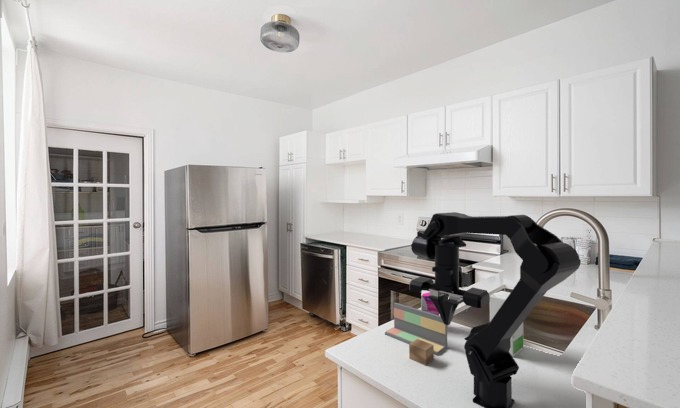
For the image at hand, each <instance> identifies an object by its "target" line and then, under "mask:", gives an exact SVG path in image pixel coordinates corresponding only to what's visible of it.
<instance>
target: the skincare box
mask: <svg viewBox="0 0 680 408" xmlns="http://www.w3.org/2000/svg"><path fill="white" fill-rule="evenodd" d="M510 293H511V292H509V291H505V290H500V291H498V292H494V293H493V294H489V295H490V302H489V322H491V320H492V319H493V317H494V316H495V314H496V313H497V311H498V310H499V309H500V307H501V306H502V304H503V303H504V301H505V300H506V299H507V297H508V296H509V294H510ZM510 341H511V348H510V350H509V352H510V354H511V355H512V357H513V358H514V357H515V356H516V355H517V354H518V353H520V352H521V351H522V350H523V349H524V348H525V347H524V345H525V344H524V322H523V323H522V324H521V325H520V326H519V328H518V329H517V330H516V332H515V333H514V334H513V335H512V337H511V339H510Z"/></svg>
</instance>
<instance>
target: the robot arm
mask: <svg viewBox="0 0 680 408" xmlns="http://www.w3.org/2000/svg"><path fill="white" fill-rule="evenodd" d="M431 216H432V217H431V218H430V221H429V223H428V225H427V226H426V229H425V230H424V231H418V232H416V236H415V237H414V239H412V242H411V244H410V245H411V246H410V247H411V251H412V253H413V254H414V255H416V256H418V257H421V258H425V259H429V260H434V266H432V267H431V272H434V281H433V279H432V278H430V277H425V276H419V277H416V278H413V279H411V280H410V282H409V291H410V292H413V293H417V294H419V293H421V291H422V290H425V291H430V296H428V298H429V299H431V300H432V302H433V303H434V305H435V307H436V309H437V310H438V312H439V316H441V319H442V321H443V323H444V324H445V325H446V324H447V326H450V325H451V323H452V320H453V318H454V315H455V312H456V310H457V308H458V306H459V305H460V304H462V303H463V304H464V305H465V306H468V307H471V308H476V309H481V308H483V307H485V306H486V305H488V304H490V295H491V294H490V293H489V291H488V290H487V289H480V288H477V287H473V286H472V287H471V288H469V289H467V290H465V289H460V288H464V287H467V288H468V287H469V283H470V274H468V273H465V272H463V271H462V270H463V268H462V266H461V265H460V248H463V247H464V248H465V247H467V243H466V242H465V241H464V240H462V238H461V237H460V236H458V235H464V234H477V235H478V234H479V235H482V234H483V235H502V236H503V235H504V236H506V237H507V238H508V239H509V240H510V243H511V246H512V248H513V250H514V252H515V253H516V255H517V256H518V257H519V258H520V259H521V260H522V262H521V264H520V267H519V274H520V278H519V280H518V281H517V282H516V285H515V286H514V287H513V289H512V290H511V292H510V294H509V296H508V297H507V299H506V300H505V301H504V303H503V304H502V306H501V307H500V309H499V310H498V311H497V313H496V314H495V316H494V317H493V319H492V320H491V322H490V321H489V322H487V323H484V324H480V325H475V326H473V327H472V328H471V329H470V331H469V334H468V335H467V336H466V337H464V338H463V339H464V340H465V341H466V342H465V343H464V346H463V348H464V351H465V356H466V357H465V358H466V360H467V361H466V362H467V364H468V368H469V372H470V374H471V376H473V395H474V397H473V398H472V402H473V404H476V405H478V406H480V407H482V408H512V407H513V405H514V404H515V402H516V401H515V399H514V398H512V397H513V395H512V394H513V393H512V392H513V390H512V389H513V388H512V387H513V385H512V384H513V382H512V381H513V379H512V378H513V377H512V376H514V375H517V374H518V371H519V369H520V367H519V365H518V363H517V362H516V360H515V359H514V357H512V355H511V354H510V352H509V350H510V348H511V341H510V339H511V337H512V335H513V334H514V333H515V332H516V330H517V329H518V328H519V326H520V325H521V324H522V323H523V324H524V322H525V320H526V319H527V318H528V317H529V315H530V314H531V312H532V311H533V310H534V308H535V307H536V306H537V305H538V303H539V302H540V301H541V300H542V299H543V298H544V296H545V294H546V293H547V292H548V291H549V290H551V289H553V288H554V287H556V286H557V285H559V284H560V283H563V282H564V281H565V280H567V279H568V278H569V277H570V276H572V274H574V273H576V271H578V269H580V265H581V259H580V256H579V253H578V251H577V250H576V249H575V248H574V247H573V246H572V245H570V244H568V243H567V242H563V240H562V239H561V238H559V237H558V236H557V235H556V234H555V233H552V232H551V231H549V230H548V229H546V228H544V227H543V226H540V225H539V224H538V223H537V222H536V221H535V220H534V219H532V218H531V217H530V216H528V215H525V214H513V215H500V216H497V215H494V216H490V215H489V216H481V215H480V216H479V215H478V216H473V215H472V216H471V215H467V214H465V213H460V212H438V213H434V214H432V215H431Z"/></svg>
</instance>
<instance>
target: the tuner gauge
mask: <svg viewBox="0 0 680 408" xmlns="http://www.w3.org/2000/svg"><path fill="white" fill-rule="evenodd" d="M393 319H394V321H393V322H394V324H393V326H394V327H391V328H389V329H387V330H386V331H385V332H384V335H385V336H388V337H390V338H391V339H395V340H398V341H400V342H402V343H405V344H407V345H409V344H410V343H411V342H413V341H415V340H416V339H419V340H422V341H424V342H427V343H430V344H432V345H434V356H439V354H441V353H442V352H444V351H445V350H446V349H447V348H448V325H447V324H446V325H445V324H444V323H443V321H442V319H441V316H440V314H439V315H436V314H433V313H429V312H426V311H422V310H421V309H419V308H415V307H412V306H409V305H406V304H402V303H398V302H394V303H393Z"/></svg>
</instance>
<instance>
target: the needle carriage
mask: <svg viewBox="0 0 680 408" xmlns="http://www.w3.org/2000/svg"><path fill="white" fill-rule="evenodd" d="M408 345H409V346H408V349H409V350H408V351H409V352H408V353H409V356H408V357H409V359H410V360H412V361H414V362H417V363H419V364H421V365H424V366H427V365H428V364H430V363H431V362H432V361H434V359H435V358H434V357H435V355H434V345H432V344H430V343H427V342H424V341H422V340H419V339H416V340H415V341H413V342H411V343H410V344H408Z"/></svg>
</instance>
